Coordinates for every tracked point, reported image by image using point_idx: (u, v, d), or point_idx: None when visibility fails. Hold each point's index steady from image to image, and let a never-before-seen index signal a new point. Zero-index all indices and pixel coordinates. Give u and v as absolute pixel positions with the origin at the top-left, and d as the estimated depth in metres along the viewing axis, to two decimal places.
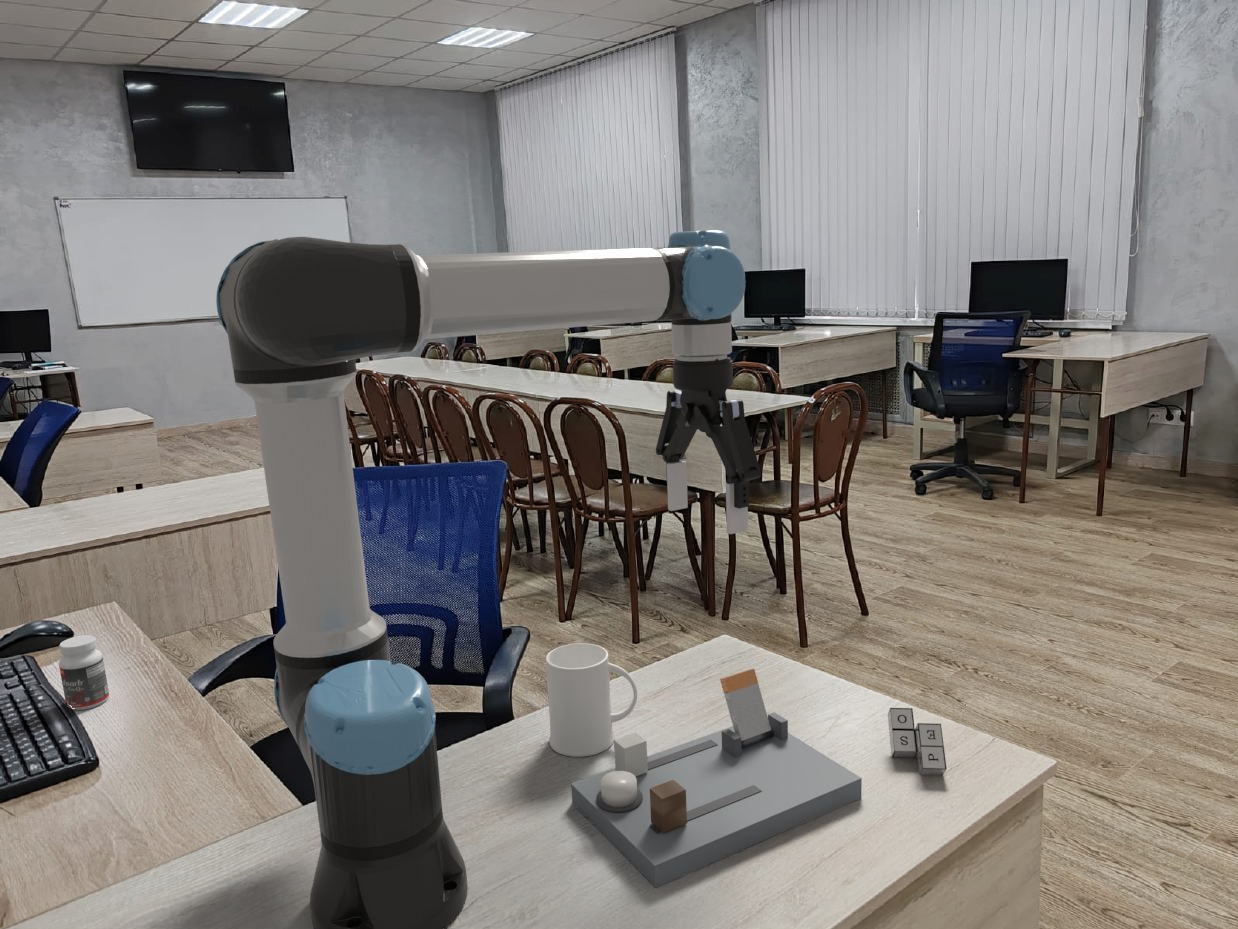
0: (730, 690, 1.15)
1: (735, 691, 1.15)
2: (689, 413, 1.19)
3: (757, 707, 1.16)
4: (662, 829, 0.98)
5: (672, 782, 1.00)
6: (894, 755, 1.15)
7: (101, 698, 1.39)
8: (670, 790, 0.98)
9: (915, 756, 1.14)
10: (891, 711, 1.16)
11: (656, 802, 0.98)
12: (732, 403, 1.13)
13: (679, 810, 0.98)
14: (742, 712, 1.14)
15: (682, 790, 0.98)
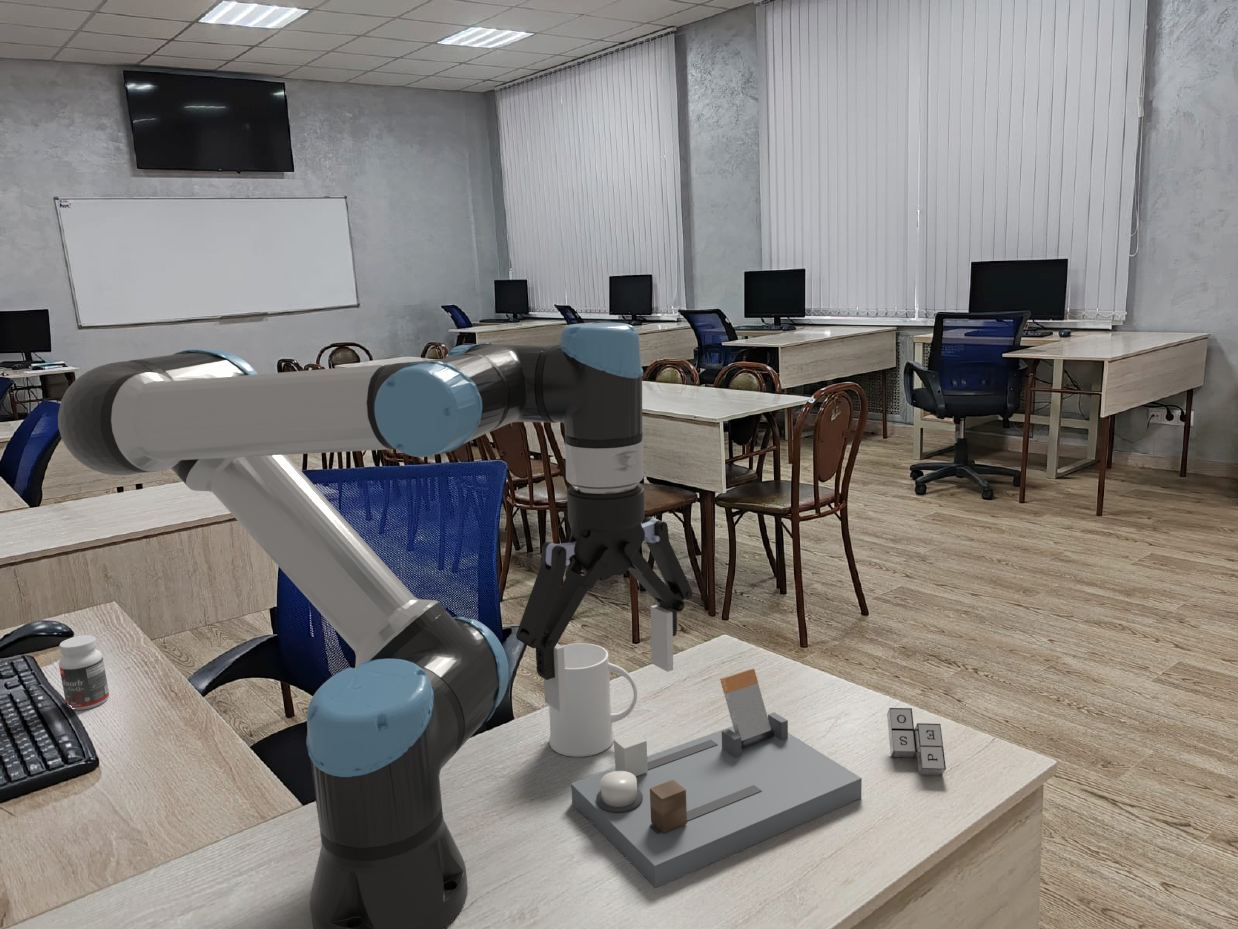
0: (730, 690, 1.15)
1: (735, 691, 1.15)
2: None
3: (757, 707, 1.16)
4: (662, 829, 0.98)
5: (672, 782, 1.00)
6: (893, 755, 1.15)
7: (101, 698, 1.39)
8: (670, 790, 0.98)
9: (914, 756, 1.14)
10: (890, 711, 1.16)
11: (656, 802, 0.98)
12: (547, 547, 0.88)
13: (679, 810, 0.98)
14: (742, 712, 1.14)
15: (682, 790, 0.98)
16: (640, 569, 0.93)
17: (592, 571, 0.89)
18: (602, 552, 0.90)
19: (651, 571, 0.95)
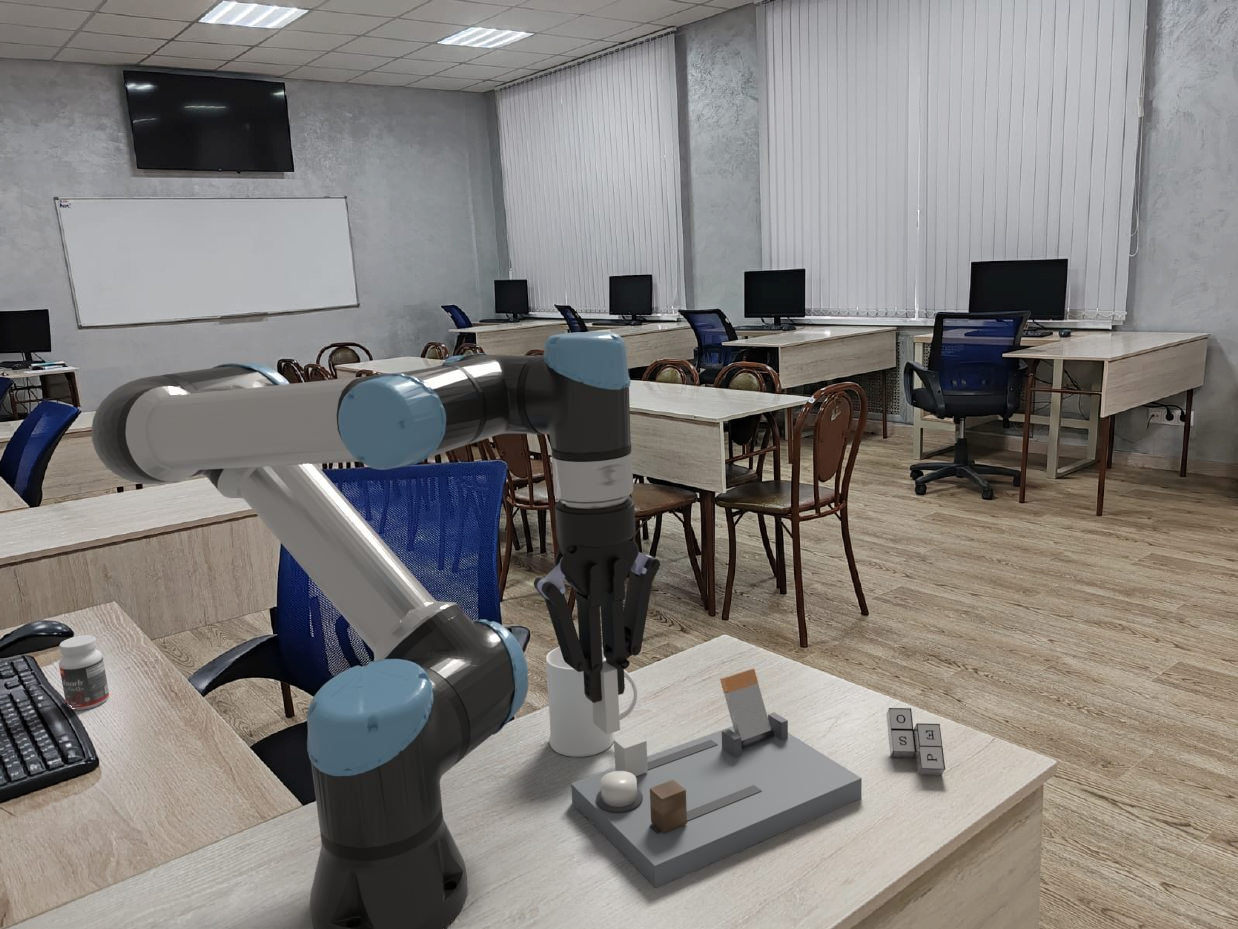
0: (730, 690, 1.15)
1: (735, 691, 1.15)
2: None
3: (757, 707, 1.16)
4: (662, 829, 0.98)
5: (672, 782, 1.00)
6: (893, 755, 1.15)
7: (101, 698, 1.39)
8: (670, 790, 0.98)
9: (914, 756, 1.14)
10: (890, 711, 1.16)
11: (656, 802, 0.98)
12: (538, 587, 0.87)
13: (679, 810, 0.98)
14: (742, 712, 1.14)
15: (682, 790, 0.98)
16: (615, 594, 0.89)
17: (591, 593, 0.88)
18: (589, 573, 0.87)
19: (621, 608, 0.90)
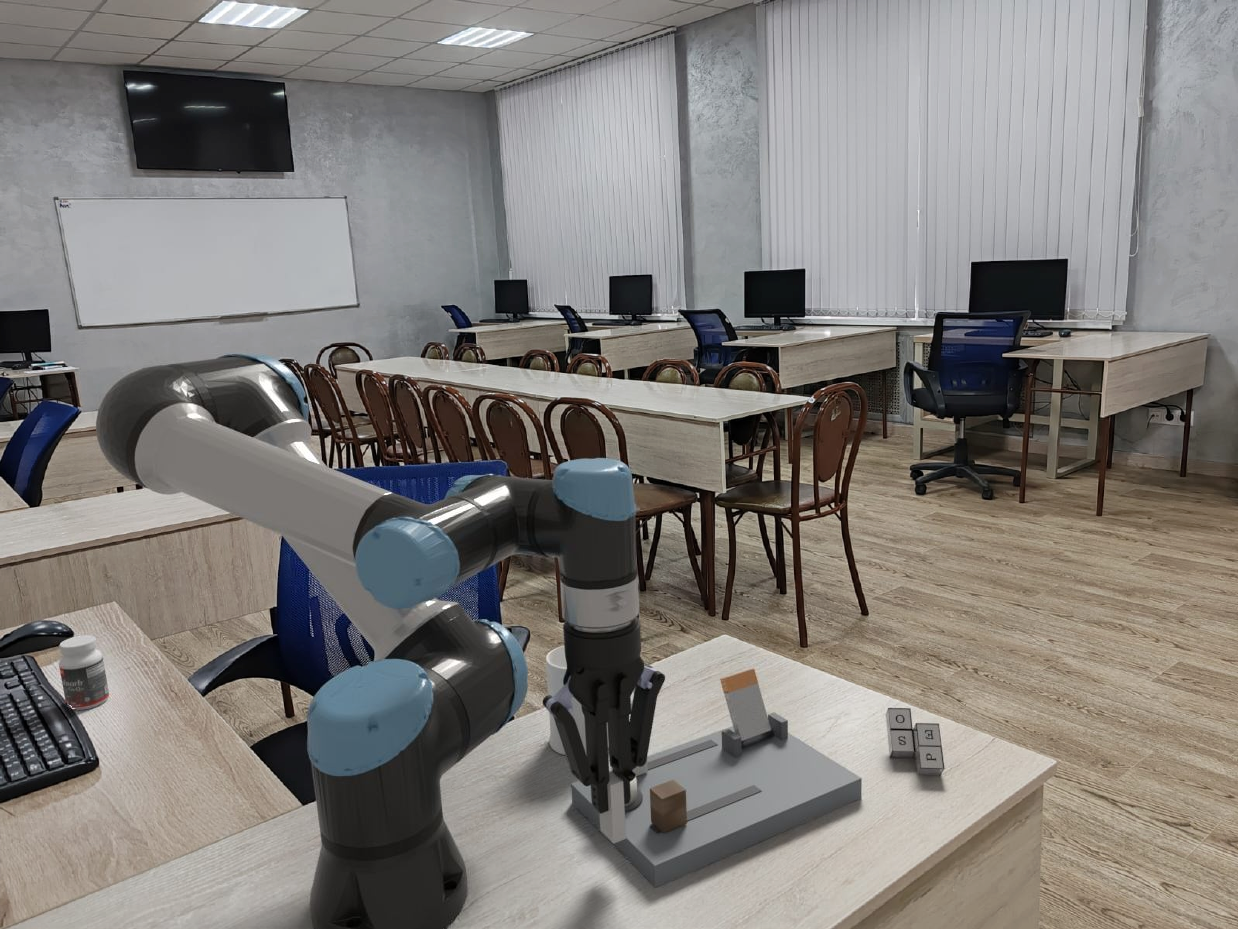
0: (730, 690, 1.15)
1: (735, 691, 1.15)
2: None
3: (757, 707, 1.16)
4: (662, 829, 0.98)
5: (672, 782, 1.00)
6: (892, 755, 1.15)
7: (101, 698, 1.39)
8: (670, 790, 0.98)
9: (913, 756, 1.14)
10: (889, 711, 1.16)
11: (656, 802, 0.98)
12: (547, 706, 0.90)
13: (679, 810, 0.98)
14: (742, 712, 1.14)
15: (682, 790, 0.98)
16: (621, 710, 0.92)
17: (598, 711, 0.90)
18: (596, 692, 0.90)
19: (627, 722, 0.93)
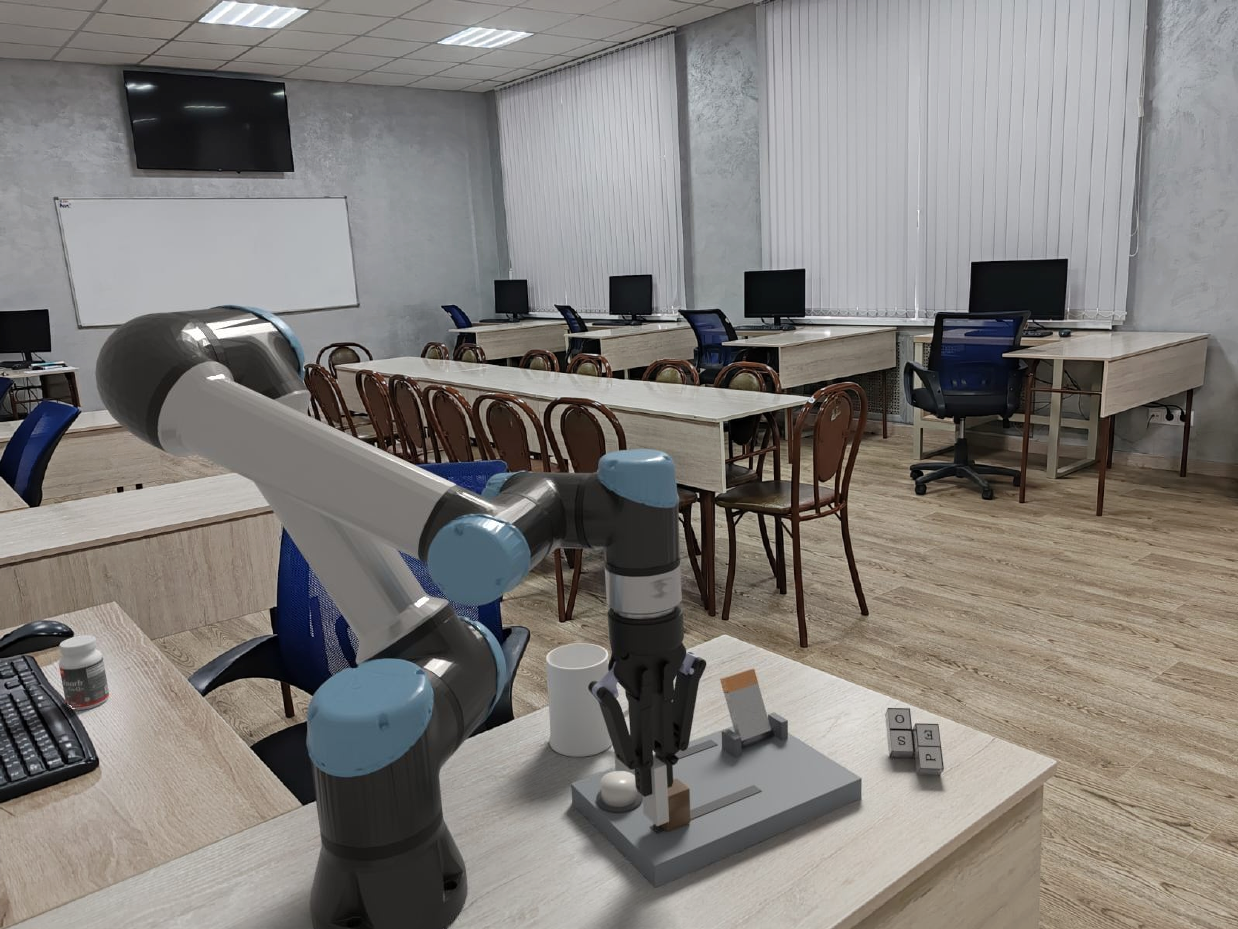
0: (730, 690, 1.15)
1: (735, 691, 1.15)
2: None
3: (757, 707, 1.16)
4: (666, 828, 0.98)
5: (676, 781, 1.00)
6: (891, 755, 1.15)
7: (101, 698, 1.39)
8: (674, 789, 0.99)
9: (912, 756, 1.14)
10: (889, 711, 1.16)
11: None
12: (592, 691, 0.92)
13: (683, 809, 0.99)
14: (742, 712, 1.14)
15: (686, 789, 0.98)
16: (665, 695, 0.94)
17: (643, 696, 0.92)
18: (641, 677, 0.92)
19: (670, 707, 0.95)
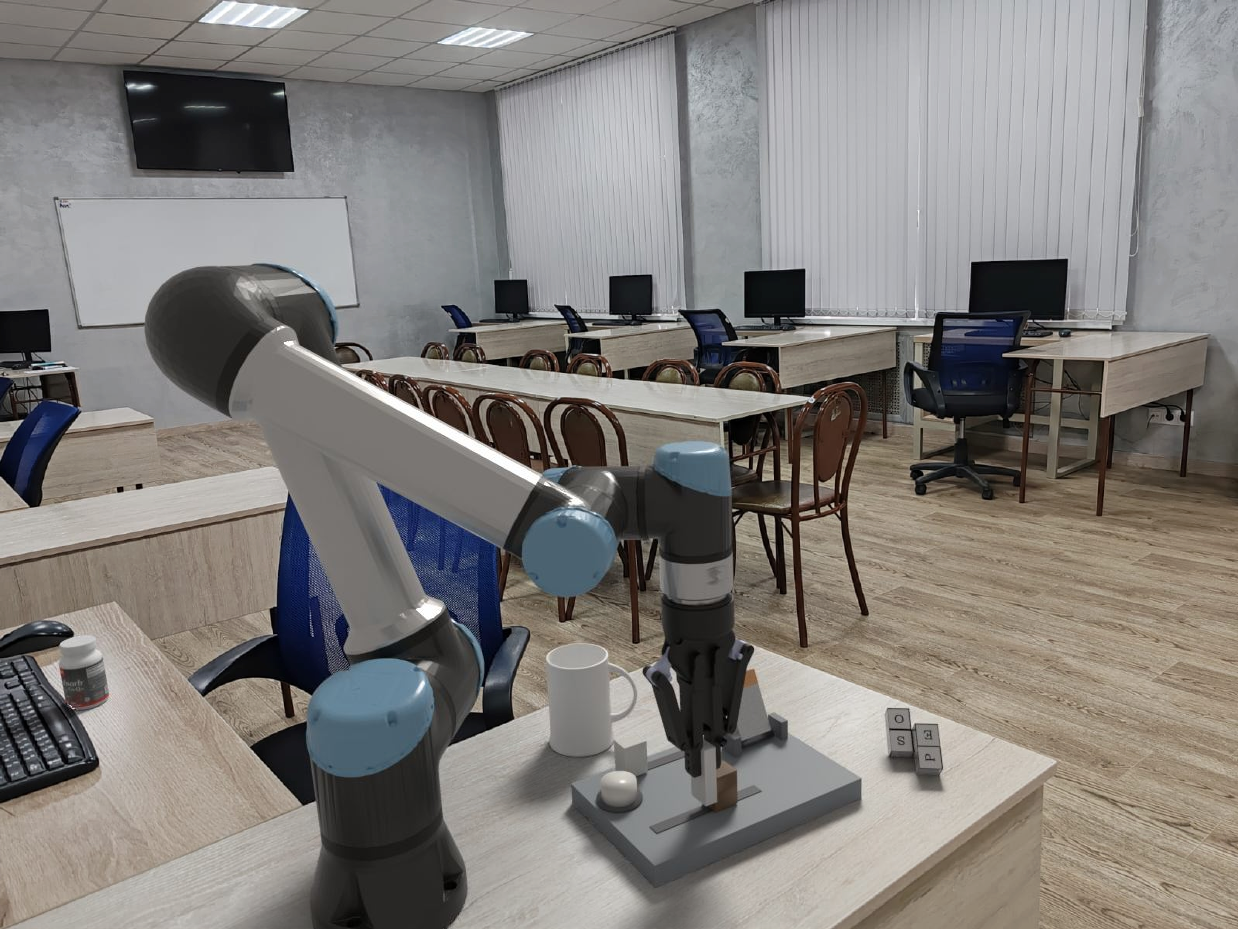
0: None
1: None
2: None
3: (757, 707, 1.16)
4: (714, 808, 1.01)
5: (723, 763, 1.03)
6: (891, 755, 1.15)
7: (101, 698, 1.39)
8: (722, 770, 1.02)
9: (912, 756, 1.14)
10: (888, 711, 1.16)
11: None
12: (647, 675, 0.95)
13: (730, 790, 1.02)
14: (742, 712, 1.14)
15: (733, 770, 1.02)
16: (715, 680, 0.97)
17: (695, 680, 0.96)
18: (693, 662, 0.95)
19: (720, 691, 0.98)
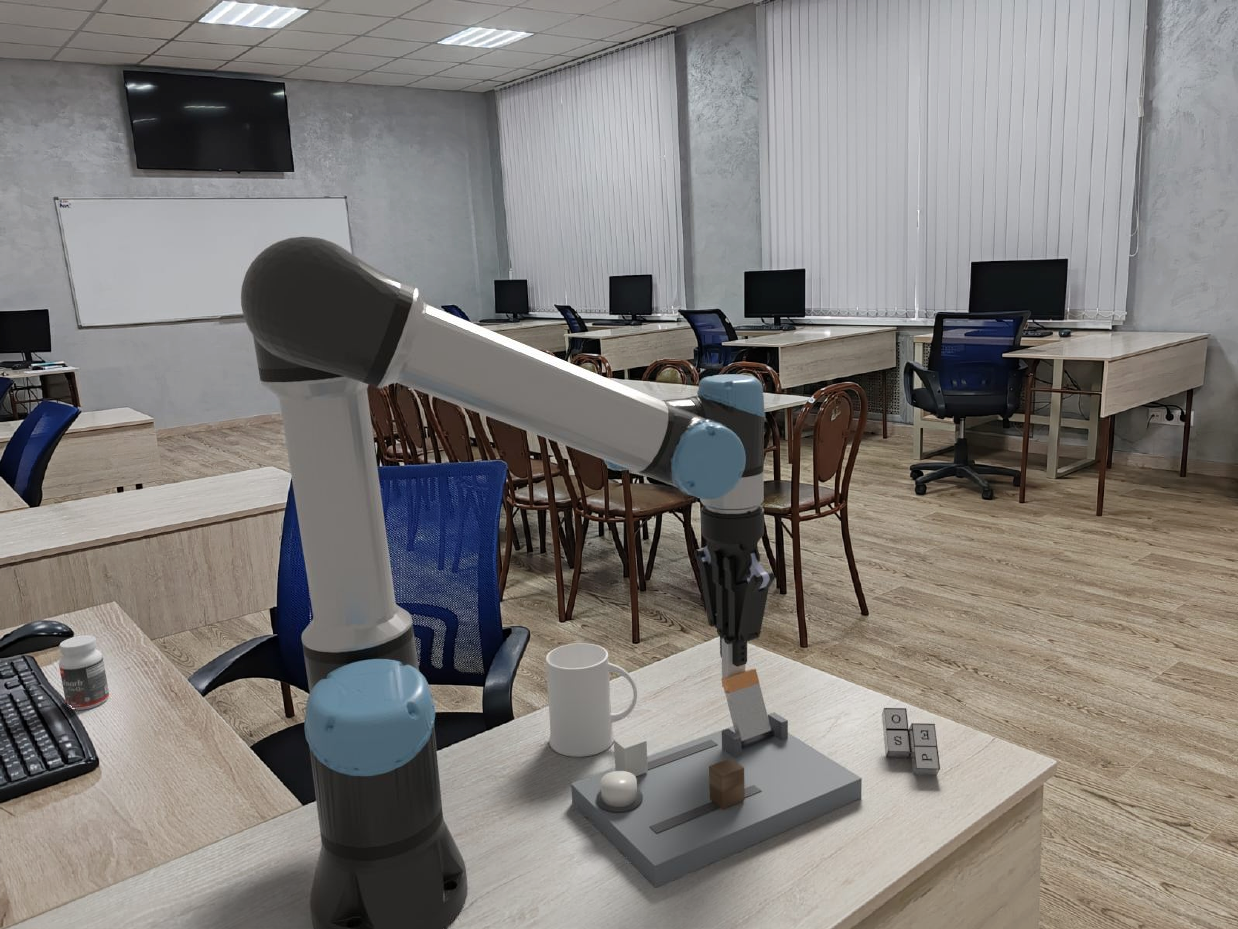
0: (731, 690, 1.14)
1: (736, 691, 1.15)
2: (719, 560, 1.13)
3: (757, 707, 1.15)
4: (721, 805, 1.02)
5: (730, 760, 1.04)
6: (888, 755, 1.15)
7: (101, 698, 1.39)
8: (729, 768, 1.02)
9: (909, 756, 1.15)
10: (885, 711, 1.16)
11: (715, 779, 1.02)
12: (763, 580, 1.08)
13: (737, 787, 1.02)
14: (743, 712, 1.14)
15: (740, 768, 1.02)
16: None
17: None
18: None
19: None
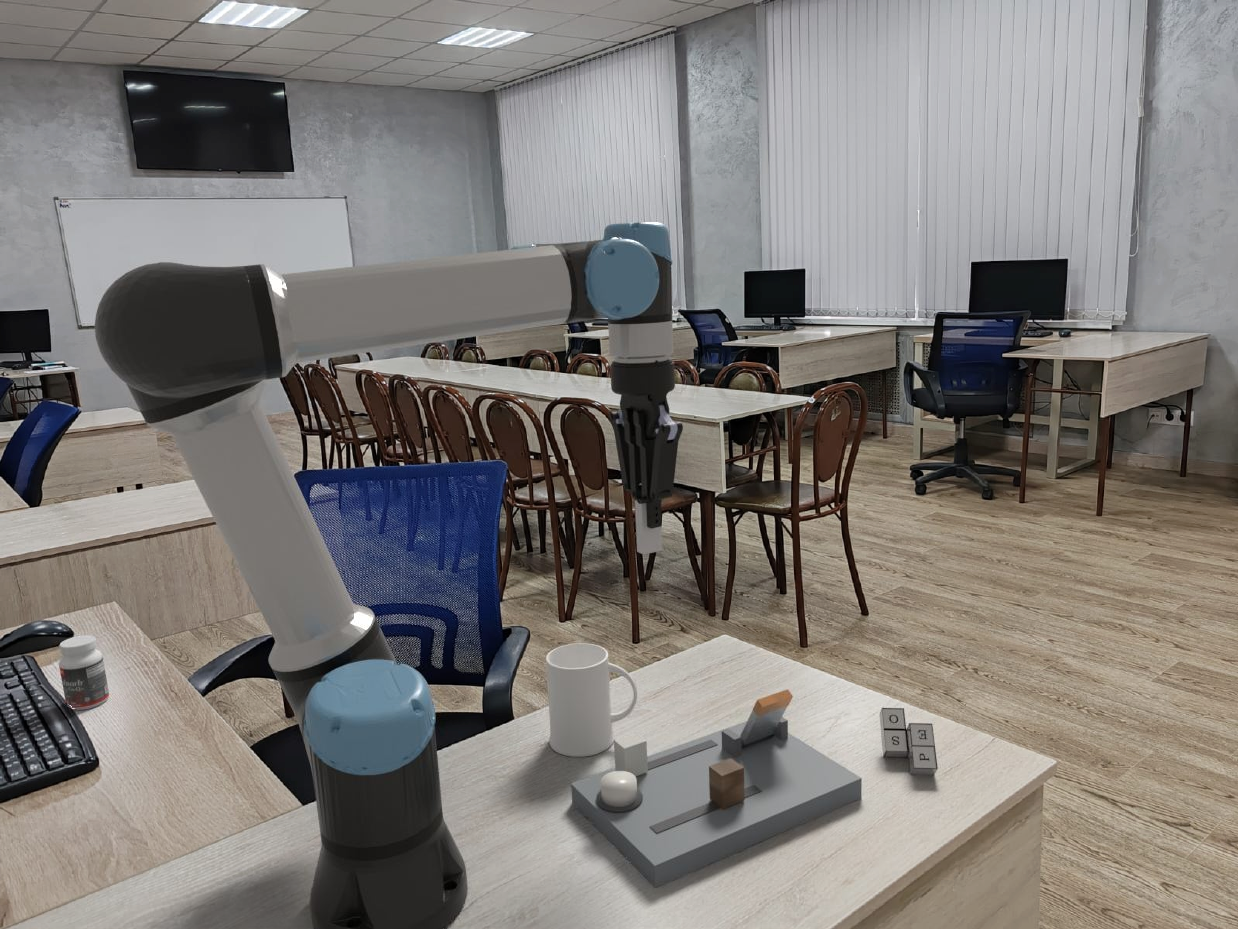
0: (761, 713, 1.10)
1: (764, 714, 1.10)
2: (630, 417, 1.11)
3: (773, 721, 1.13)
4: (721, 805, 1.02)
5: (730, 760, 1.04)
6: (886, 755, 1.15)
7: (101, 698, 1.39)
8: (729, 768, 1.02)
9: (907, 756, 1.15)
10: (883, 711, 1.16)
11: (715, 779, 1.02)
12: (671, 429, 1.05)
13: (737, 787, 1.02)
14: (758, 727, 1.12)
15: (740, 768, 1.02)
16: None
17: None
18: None
19: None
